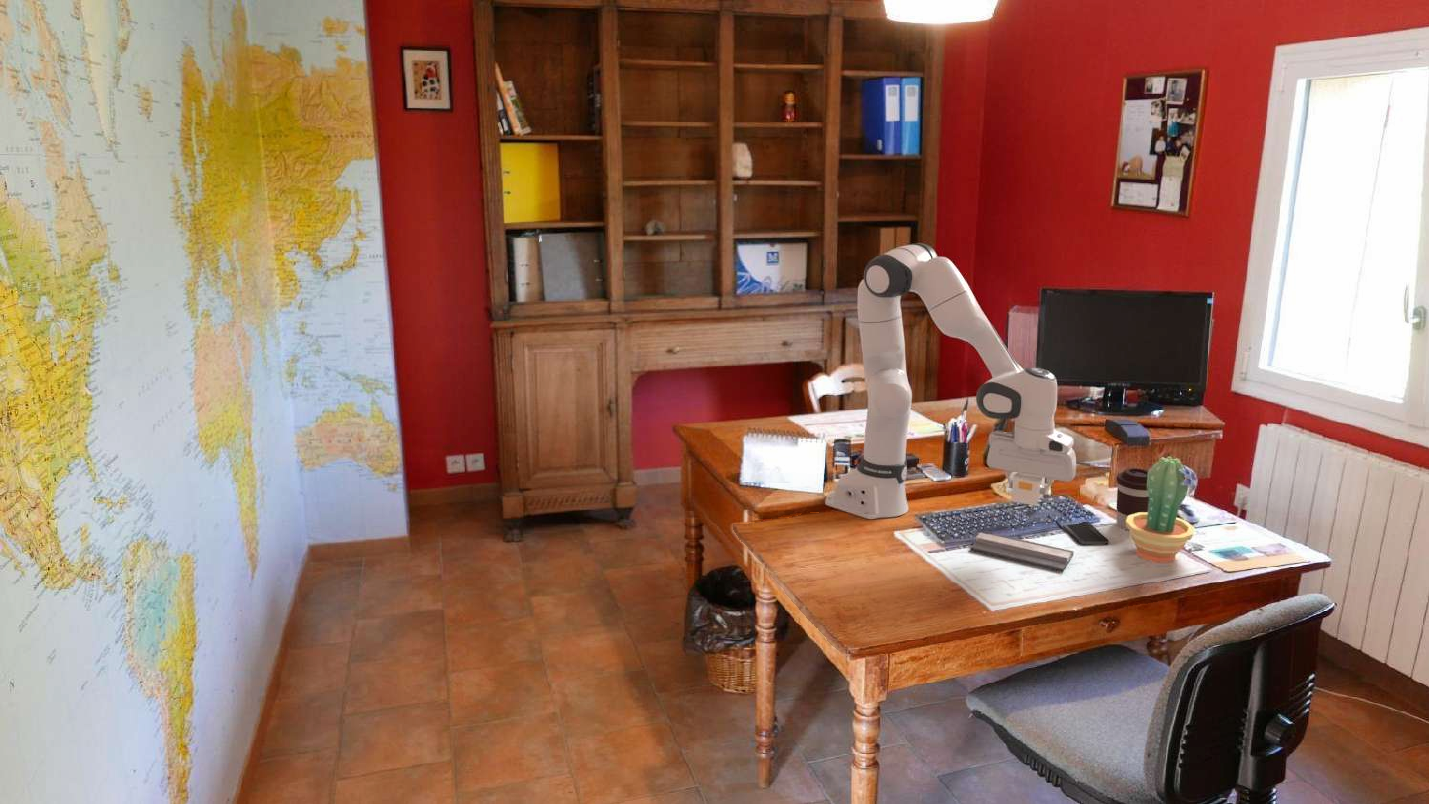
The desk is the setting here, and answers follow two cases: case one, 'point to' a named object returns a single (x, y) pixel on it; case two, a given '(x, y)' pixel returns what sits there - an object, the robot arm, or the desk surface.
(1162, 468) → the potted cactus
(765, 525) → the desk surface
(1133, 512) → the coffee cup
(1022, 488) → the block
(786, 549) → the desk surface
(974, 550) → the rail
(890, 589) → the desk surface
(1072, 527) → the phone
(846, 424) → the desk surface
